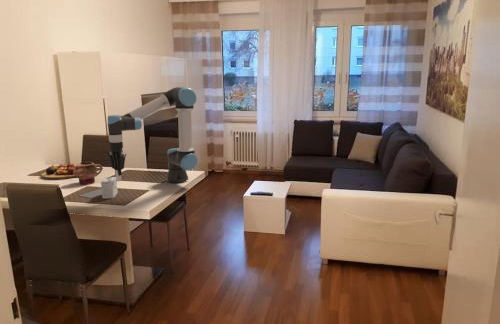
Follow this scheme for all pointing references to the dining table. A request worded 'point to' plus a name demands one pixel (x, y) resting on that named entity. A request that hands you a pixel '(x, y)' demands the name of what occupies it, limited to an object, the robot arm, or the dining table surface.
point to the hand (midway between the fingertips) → (118, 180)
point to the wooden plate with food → (59, 172)
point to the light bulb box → (109, 187)
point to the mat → (92, 194)
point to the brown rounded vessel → (86, 172)
